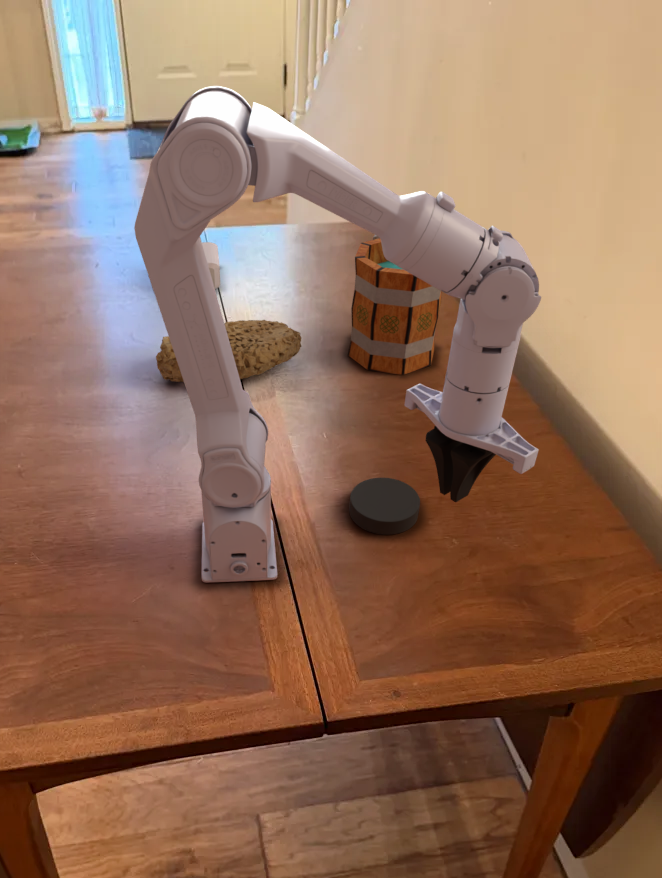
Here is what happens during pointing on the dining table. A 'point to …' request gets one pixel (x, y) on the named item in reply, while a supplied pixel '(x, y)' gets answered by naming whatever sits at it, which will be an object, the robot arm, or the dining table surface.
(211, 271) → the charger
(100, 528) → the dining table surface
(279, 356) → the sponge
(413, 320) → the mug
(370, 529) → the puck
